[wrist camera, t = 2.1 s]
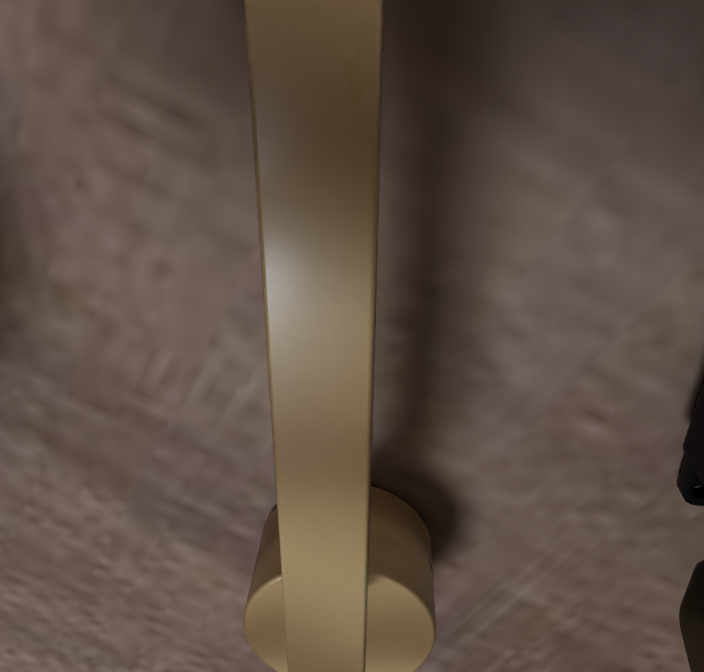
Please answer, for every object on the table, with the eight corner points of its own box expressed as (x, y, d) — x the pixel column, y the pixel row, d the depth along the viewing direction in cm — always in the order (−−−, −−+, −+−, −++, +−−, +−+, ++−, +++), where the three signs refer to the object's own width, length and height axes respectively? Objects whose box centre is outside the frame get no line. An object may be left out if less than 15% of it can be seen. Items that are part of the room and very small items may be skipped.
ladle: (210, -96, 12) (60, -133, 7) (491, -95, 12) (568, -131, 6) (267, 596, 21) (223, 814, 16) (425, 605, 21) (434, 829, 16)
